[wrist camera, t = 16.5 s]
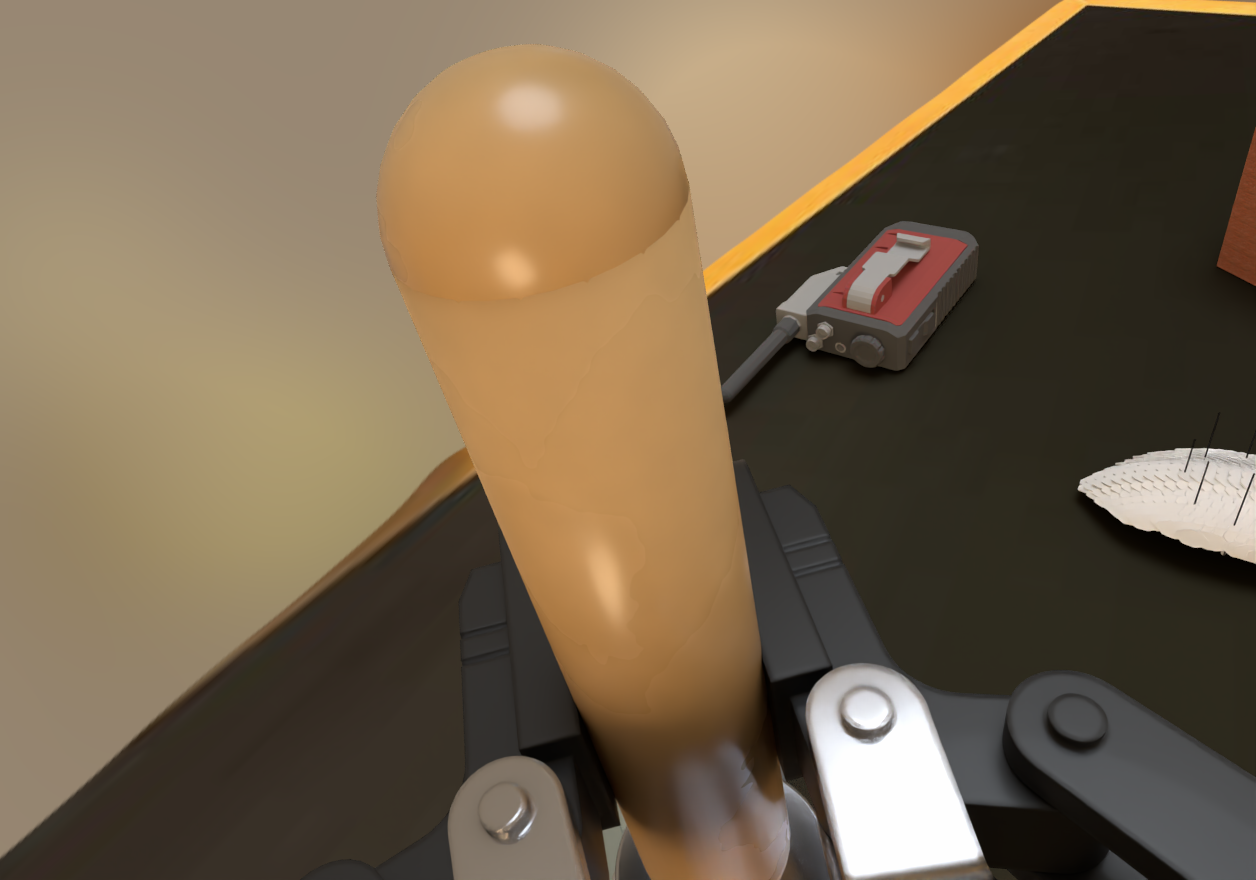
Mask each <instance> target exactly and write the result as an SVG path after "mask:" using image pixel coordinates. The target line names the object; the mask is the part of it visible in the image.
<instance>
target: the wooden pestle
mask: <svg viewBox="0 0 1256 880" xmlns="http://www.w3.org/2000/svg"><path fill="white" fill-rule="evenodd" d="M376 197H377V209H378V222H379V230H380V237H381V241H382V244H383V247H384V251H385V254H386V257H387V261H388V264H389V267H390V269H391V271H392V273H393V276H394V278H395V281H396V283H397V285H398V288H399V290H400V292H401V294H402V297H403V300H404V302H405V304H406V307H407V309H408V311H409V314H410V316H411V318H412V321H413V323H414V325H415V327H416V330H417V332H418V334H419V337H420V339H421V342H422V344H423V347H424V349H425V351H426V354H427V356H428V358H429V361H430V363H431V365H432V368H433V370H434V372H435V375H436V377H437V379H438V382H439V384H440V387H441V389H442V391H443V394H444V396H445V398H446V401H447V403H448V405H449V408H450V410H451V413H452V415H453V417H454V419H455V422H456V424H457V427H458V429H459V431H460V434H461V436H462V438H463V441H464V443H465V445H466V448H467V450H468V453H469V455H470V457H471V460H472V462H473V464H474V467H475V469H476V471H477V474H478V476H479V478H480V481H481V483H482V486H483V488H484V490H485V493H486V495H487V497H488V500H489V502H490V504H491V507H492V509H493V511H494V514H495V516H496V518H497V521H498V523H499V526H500V528H501V530H502V533H503V535H504V537H505V540H506V542H507V544H508V547H509V549H510V551H511V554H512V556H513V559H514V561H515V563H516V566H517V568H518V570H519V573H520V575H521V577H522V580H523V582H524V584H525V587H526V589H527V591H528V594H529V596H530V599H531V601H532V603H533V606H534V608H535V610H536V613H537V615H538V617H539V620H540V622H541V624H542V627H543V629H544V631H545V634H546V636H547V639H548V641H549V643H550V646H551V648H552V650H553V653H554V655H555V657H556V660H557V662H558V664H559V667H560V669H561V672H562V674H563V676H564V679H565V681H566V683H567V686H568V688H569V690H570V693H571V695H572V697H573V700H574V702H575V704H576V706H577V708H578V710H579V713H580V715H581V717H582V720H583V722H584V724H585V727H586V729H587V732H588V734H589V736H590V739H591V741H592V743H593V746H594V748H595V750H596V753H597V755H598V758H599V760H600V762H601V765H602V767H603V769H604V772H605V774H606V776H607V779H608V781H609V783H610V786H611V788H612V791H613V793H614V795H615V798H616V801H617V803H618V806H619V808H620V810H621V813H622V815H623V818H624V820H625V822H626V825H627V826H626V828H625V830H624V833H623V835H622V838H621V841H620V844H619V848H618V852H617V858H616V865H615V871H614V874H613V876H612V879H611V880H830V878H829V874H828V869H827V865H826V861H825V857H824V853H823V849H822V845H821V840H820V836H819V832H818V826H817V818H816V811H815V809H814V808H813V807H812V805H811V804H810V803H809V802H808V800H807V799H806V798H805V797H804V796H803V795H802V794H801V793H800V792H799V791H798V790H797V789H795V788H794V787H793V786H791V785H790V784H789V783H788V782H786V781H785V780H783V779H782V775H781V769H780V762H779V759H778V756H777V750H776V744H775V738H774V731H773V725H772V719H771V712H770V706H769V700H768V693H767V687H766V681H765V674H764V668H763V662H762V650H761V641H760V634H759V628H758V622H757V615H756V609H755V602H754V596H753V590H752V583H751V577H750V570H749V564H748V558H747V551H746V545H745V539H744V532H743V526H742V519H741V513H740V507H739V500H738V494H737V487H736V481H735V475H734V468H733V462H732V455H731V449H730V443H729V436H728V430H727V423H726V417H725V411H724V404H723V398H722V391H721V385H720V379H719V372H718V366H717V360H716V353H715V347H714V340H713V334H712V328H711V321H710V315H709V308H708V302H707V296H706V289H705V283H704V276H703V270H702V264H701V257H700V252H699V245H698V239H697V232H696V226H695V219H694V213H693V206H692V200H691V194H690V187H689V181H688V179H687V176H686V172H685V168H684V165H683V161H682V157H681V154H680V151H679V147H678V145H677V143H676V141H675V139H674V137H673V135H672V133H671V131H670V129H669V127H668V125H667V123H666V121H665V119H664V118H663V117H662V116H661V114H660V113H659V112H658V111H657V110H656V108H655V107H654V106H653V105H652V103H651V102H650V101H649V100H648V98H647V97H646V96H645V95H644V94H643V93H642V92H641V91H640V90H639V88H638V87H636V86H635V85H634V84H633V83H631V82H630V81H629V80H627V79H626V78H625V77H624V76H623V75H621V74H620V73H619V72H617V71H616V70H615V69H613V68H611V67H609V66H607V65H605V64H603V63H601V62H599V61H597V60H595V59H593V58H591V57H589V56H586V55H584V54H582V53H580V52H576V51H572V50H567V49H563V48H558V47H553V46H548V45H541V44H524V45H514V46H507V47H501V48H495V49H491V50H488V51H484V52H482V53H479V54H476V55H474V56H471V57H469V58H466V59H464V60H462V61H460V62H458V63H456V64H454V65H452V66H450V67H449V68H447V69H446V70H444V71H443V72H441V73H440V74H439V75H438V76H437V77H436V78H435V79H433V80H432V81H431V82H430V83H429V84H428V85H427V86H426V87H425V88H423V89H422V90H421V91H420V92H419V93H418V94H417V95H416V96H415V97H414V98H413V100H412V101H411V103H410V104H409V106H408V107H407V109H406V110H405V112H404V113H403V115H402V116H401V118H400V119H399V121H398V122H397V124H396V125H395V127H394V129H393V132H392V134H391V137H390V139H389V142H388V145H387V147H386V150H385V153H384V156H383V159H382V162H381V165H380V172H379V180H378V187H377V196H376Z"/></svg>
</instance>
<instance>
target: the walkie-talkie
mask: <svg viewBox="0 0 1256 880" xmlns="http://www.w3.org/2000/svg"><path fill="white" fill-rule="evenodd" d="M978 249H979V246H978V244H977V242H976V240H975V238H974V237H973V236H972V235H971V234H969V233H968V232H965V231H960V230H954V229H948V228H943V227H937V226H931V225H925V224H919V223H913V222H908V221H901V222H898V223H896V224H893V225H891V226H889V227H886V228H884V229H883V231H882V232H880V233H879V235H878V236H876V237H875V239H874V240H872V242H871V243H870V244H869V245H868V247H867V248H865V249H864V251H863V252H861V253H860V255H859V256H858V257H856V259H855V260H854V261H853V262H852V264H851V265H849V266H848V268H847V267H839V268H835V269H832V270H829V271H826V272H823V273H820V274H817V275H814V276H811V277H810V278H809V279H808V280H807V281H806V282H805V283H804V284H803V285H802V286H801V287H800V288H799V289H798V290H797V291H796V292H795V293H794V294H793V295H792V296H791V297H790V298H789V299H788V300H787V301H786V302H783V303H782V304H781V305H780V306H779V307H778V308H777V309H776V317H777V325H776V326H775V327H774V329H773V333H772V334H771V335H770V336H769V337H768V338H767V339H766V340H765V341H764V342H763V343H762V344H761V345H760V346H759V347H758V348H757V350H756V351H755V352H754V353H753V354H752V355H751V356H750V357H749V358H748V359H747V360H746V361H745V362H744V363H743V364H742V365H741V366H740V367H739V368H738V369H737V370H736V372H735V373H734V374H733V375H732V376H731V377H730V378H729V379H728V380H727V381H726V382H725V383H724V384H723V385H722V386H721V391H722V398H723V403H729V402H731V401H732V400H733V399H734V398H735V397H736V396H737V395H738V393H739V392H740V391H741V390H742V389H743V388H744V387H745V386H746V385H747V384H748V383H749V382H750V381H751V379H752V378H753V377H754V376H755V375H756V374H757V373H758V372H759V371H760V370H761V369H762V368H763V367H764V365H765V364H766V363H767V362H768V361H769V360H770V359H771V358H772V357H773V356H774V355H775V354H776V352H777V351H778V350H779V349H780V348H781V347H782V346H783V345H784V344H787V343H789V342H790V341H791V340H792V339H793V338H794V337H796V338H799V339H803V340H807V342H806V347H807V348H808V349H809V350H810V351H813V352H814V351H816V350H817V349H818V350H822V351H825V352H829V353H833V354H836V355H840V356H844V357H847V358H851V359H854V360H855V361H856V362H857V363H859V364H860V365H862V366H864V367H870V368H873V367H877V366H880V367H884V368H887V369H891V370H895V371H898V370H901V369H904V368H906V366H907V365H908V364H909V363H910V361H911V360H912V359H913V358H914V356H915V355H916V354H917V353H918V351H919V350H920V349H921V347H922V346H923V345H924V344H925V342H926V341H927V340H928V339H929V337H930V336H931V335H932V334H933V332H934V331H935V330H936V328H937V326H938V325H939V324H940V323H941V321H942V320H944V318H945V316H946V315H948V312H949V311H950V310H951V309H952V307H953V306H955V304H956V302H957V301H959V298H960V297H962V296H963V293H964V292H966V289H967V288H969V287H970V284H971V283H973V280H974V279H976V275H977V262H978Z"/></svg>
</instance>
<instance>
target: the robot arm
mask: <svg viewBox="0 0 1256 880" xmlns="http://www.w3.org/2000/svg"><path fill="white" fill-rule="evenodd" d="M733 468H734V475H735V481H736V487H737V494H738V500H739V507H740V513H741V519H742V526H743V532H744V539H745V545H746V551H747V558H748V564H749V570H750V577H751V583H752V590H753V596H754V602H755V609H756V615H757V622H758V628H759V634H760V641H761V650H762V662H763V668H764V674H765V681H766V687H767V693H768V700H769V706H770V712H771V719H772V725H773V731H774V738H775V744H776V750H777V756H778V759H779V762H780V765H781V768H782V771H783V774H784V777H785V780H786V781H789V780H792V779H796V778H800V777H804V780H805V783H806V785H807V788H808V791H809V794H810V797H811V799H812V802H813V805H814V808H815V811H816V818H817V826H818V832H819V836H820V840H821V845H822V849H823V853H824V857H825V861H826V865H827V869H828V874H829V878H830V880H997V879H996V878H995V877H994V876H993V874H992V873H991V871H990V869H989V867H990V868H1001V869H1007V870H1008V871H1009V872H1010V873H1011V874H1012V875H1013V876H1015V877H1016V878H1017V879H1018V880H1256V777H1254V776H1253V775H1251V774H1249V773H1248V772H1246V771H1245V770H1243V769H1242V768H1240V767H1239V766H1237V765H1235V764H1234V763H1232V762H1231V761H1229V760H1228V759H1226V758H1224V757H1223V756H1221V755H1220V754H1218V753H1217V752H1215V751H1214V750H1212V749H1210V748H1209V747H1207V746H1206V745H1204V744H1203V743H1201V742H1199V741H1198V740H1196V739H1195V738H1193V737H1192V736H1190V735H1188V734H1187V733H1185V732H1184V731H1182V730H1181V729H1179V728H1178V727H1176V726H1174V725H1173V724H1171V723H1170V722H1168V721H1167V720H1165V719H1163V718H1162V717H1160V716H1159V715H1157V714H1156V713H1154V712H1153V711H1151V710H1149V709H1148V708H1146V707H1145V706H1143V705H1142V704H1140V703H1138V702H1137V701H1135V700H1134V699H1132V698H1131V697H1129V696H1128V695H1126V694H1124V693H1123V692H1121V691H1120V690H1118V689H1117V688H1115V687H1113V686H1112V685H1110V684H1108V683H1107V682H1105V681H1103V680H1101V679H1099V678H1096V677H1094V676H1091V675H1088V674H1085V673H1081V672H1076V671H1068V670H1053V671H1046V672H1042V673H1039V674H1036V675H1033V676H1031V677H1030V678H1028V679H1026V680H1024V681H1023V682H1022V683H1021V684H1020V685H1018V687H1017V688H1016V689H1015V690H1014V692H1013V693H1012V695H988V694H965V693H954V692H947V691H943V690H939V689H935V688H933V687H930V686H927V685H925V684H923V683H921V682H919V681H917V680H915V679H914V678H912V677H911V676H909V675H908V674H906V673H905V672H904V671H903V670H902V669H901V668H900V667H899V666H898V665H897V664H896V663H895V662H894V661H893V659H892V658H891V657H890V655H889V654H888V652H887V650H886V648H885V646H884V644H883V642H882V640H881V638H880V636H879V634H878V632H877V630H876V628H875V626H874V624H873V622H872V620H871V618H870V616H869V614H868V612H867V610H866V608H865V605H864V603H863V601H862V599H861V597H860V595H859V593H858V591H857V589H856V587H855V585H854V583H853V581H852V579H851V577H850V575H849V573H848V571H847V569H846V567H845V565H844V564H843V563H842V559H841V556H840V554H839V552H838V550H837V548H836V546H835V544H834V542H833V541H832V540H831V538H830V534H829V532H828V530H827V528H826V526H825V524H824V522H823V520H822V517H821V515H820V513H819V511H818V509H817V507H816V506H815V505H814V504H813V503H812V502H810V501H809V500H808V499H807V498H805V497H804V496H803V495H802V494H800V493H799V492H798V491H797V490H795V489H794V488H793V487H792V486H791V485H786V486H782V487H778V488H775V489H771V490H767V491H763V492H760V493H759V491H758V489H757V486H756V484H755V482H754V479H753V477H752V474H751V472H750V470H749V467H748V465H747V463H746V462H745V460H744V459H741V460H738V461H734V462H733ZM498 534H499V545H500V556H501V562H497V563H493V564H490V565H486V566H482V567H478V568H475V569H472V570H471V572H470V575H469V577H468V580H467V582H466V585H465V587H464V590H463V592H462V594H461V597H460V599H459V623H460V635H461V640H460V647H461V661H462V667H461V671H462V695H463V719H464V743H465V774H464V779H463V783H462V786H461V788H460V790H459V791H458V793H457V794H456V796H455V798H454V801H453V803H452V806H451V809H450V810H449V812H448V813H447V815H446V816H445V817H444V818H443V819H442V821H441V822H440V823H439V824H438V825H437V826H436V827H435V828H434V829H433V830H432V831H430V832H429V833H428V834H427V835H425V836H424V837H422V838H421V839H420V840H418V841H417V842H415V843H413V844H412V845H410V846H409V847H407V848H406V849H404V850H402V851H401V852H399V853H398V854H396V855H395V856H393V857H391V858H390V859H388V860H387V861H385V862H384V863H382V864H380V865H379V866H377V867H376V868H373V867H371V866H370V865H369V864H366V863H364V862H361V861H357V860H351V859H350V860H338V861H333V862H330V863H327V864H325V865H322V866H320V867H318V868H316V869H315V870H313V871H311V872H310V873H308V874H307V875H306V876H304V877H303V878H302V879H300V880H610V879H609V870H608V863H607V857H606V851H605V845H604V838H603V832H602V831H603V830H606V829H610V828H614V827H617V826H621V824H620V819H619V813H618V807H617V802H616V798H615V795H614V793H613V791H612V788H611V786H610V783H609V781H608V779H607V776H606V774H605V772H604V769H603V767H602V765H601V762H600V760H599V758H598V755H597V753H596V750H595V748H594V746H593V743H592V741H591V739H590V736H589V734H588V732H587V729H586V727H585V724H584V722H583V720H582V717H581V715H580V713H579V710H578V708H577V706H576V704H575V702H574V700H573V697H572V695H571V693H570V690H569V688H568V686H567V683H566V681H565V679H564V676H563V674H562V672H561V669H560V667H559V664H558V662H557V660H556V657H555V655H554V653H553V650H552V648H551V646H550V643H549V641H548V639H547V636H546V634H545V631H544V629H543V627H542V624H541V622H540V620H539V617H538V615H537V613H536V610H535V608H534V606H533V603H532V601H531V599H530V596H529V594H528V591H527V589H526V587H525V584H524V582H523V580H522V577H521V575H520V573H519V570H518V568H517V566H516V563H515V561H514V559H513V556H512V554H511V551H510V549H509V547H508V544H507V542H506V540H505V537H504V535H503V533H502V530H501V528H500V526H499V527H498Z"/></svg>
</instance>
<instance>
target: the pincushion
mask: <svg viewBox="0 0 1256 880" xmlns="http://www.w3.org/2000/svg"><path fill="white" fill-rule="evenodd" d="M1219 416H1220V412H1219V413H1218V416H1217V420H1216V423H1215V426H1214V429H1213V432H1212V435H1211V438H1210V441H1209V444H1208V447H1207V448H1203V449H1193V447H1194V444H1195V441H1196V440H1195V439H1194V441H1193V445H1192V448H1191V449H1190V448H1187V449H1175V451H1170V450H1168V451H1157V452H1148V453H1147V454H1143V455H1142V456H1133V458H1134V459H1127V460H1125V462H1120V463H1115V465H1118V466H1112V467H1110V468H1105V469H1104V470H1103V471H1099V472H1096V473H1093V475H1092V476H1089V477H1086V478H1084V479H1082V480H1081V481H1080V486H1079V487H1078V491H1081V492H1083V493H1086V496H1088V497H1089V498H1091V499H1093V500H1094V502H1095V503H1096V504H1098V505H1099V506H1101V507H1103V508H1105V509H1107V510H1108V511H1109V512H1110V513H1111V514H1112V515H1113V516H1114V517H1116V518H1117V519H1119V520H1120V521H1121V522H1122V523H1123V524H1128V525H1133V526H1134V527H1135V528H1138V529H1141V530H1145V531H1153V530H1155V531H1160V532H1161V533H1162V534H1163V535H1165V536H1168V537H1170V538H1173V539H1179V540H1180V541H1181V543H1182V544H1185V545H1188V546H1191V547H1193V548H1200V547H1201V548H1204V549H1206V550H1212V551H1222V552H1221V555H1225V554H1226V553H1228V554H1229V555H1230V556H1231V557H1235V558H1239V559H1242V560H1245V561H1249V562H1253V563H1254V564H1256V455H1254V454H1251V455H1250V454H1249V452H1250V449H1251V447H1252V444H1253V441H1254V439H1255V436H1256V431H1255V434H1254V436H1253V439H1252V442H1251V444H1250V447H1249V450H1248V453H1247V454H1246V453H1243V452H1235V451H1232V450H1229V451H1228V450H1222V449H1209V446H1210V443H1211V440H1212V437H1213V434H1214V431H1215V428H1216V425H1217V422H1218V419H1219Z"/></svg>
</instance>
